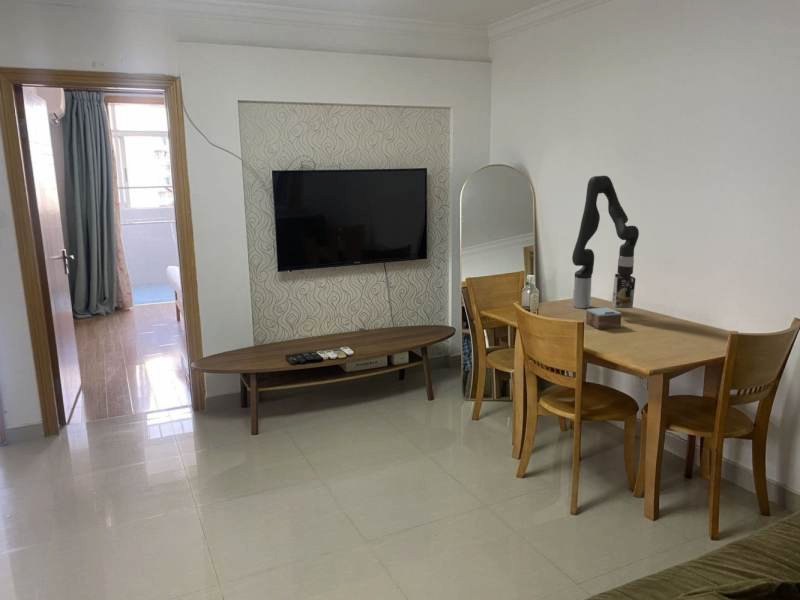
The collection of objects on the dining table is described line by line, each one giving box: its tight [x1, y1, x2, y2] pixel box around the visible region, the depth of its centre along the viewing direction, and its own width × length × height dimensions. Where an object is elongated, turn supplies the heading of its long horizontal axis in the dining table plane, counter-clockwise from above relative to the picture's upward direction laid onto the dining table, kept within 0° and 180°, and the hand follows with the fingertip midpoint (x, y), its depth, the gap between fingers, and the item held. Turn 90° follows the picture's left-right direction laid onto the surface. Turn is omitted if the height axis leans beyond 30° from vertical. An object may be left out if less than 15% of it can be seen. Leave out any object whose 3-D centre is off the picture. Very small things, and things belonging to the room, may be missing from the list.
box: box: [585, 310, 622, 331], centre depth 300 cm, size 12×12×7 cm
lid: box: [586, 307, 622, 316], centre depth 299 cm, size 12×12×1 cm
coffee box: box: [611, 275, 636, 309], centre depth 311 cm, size 9×6×16 cm
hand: (623, 295), depth 312 cm, fingers closed on coffee box, 7 cm apart
